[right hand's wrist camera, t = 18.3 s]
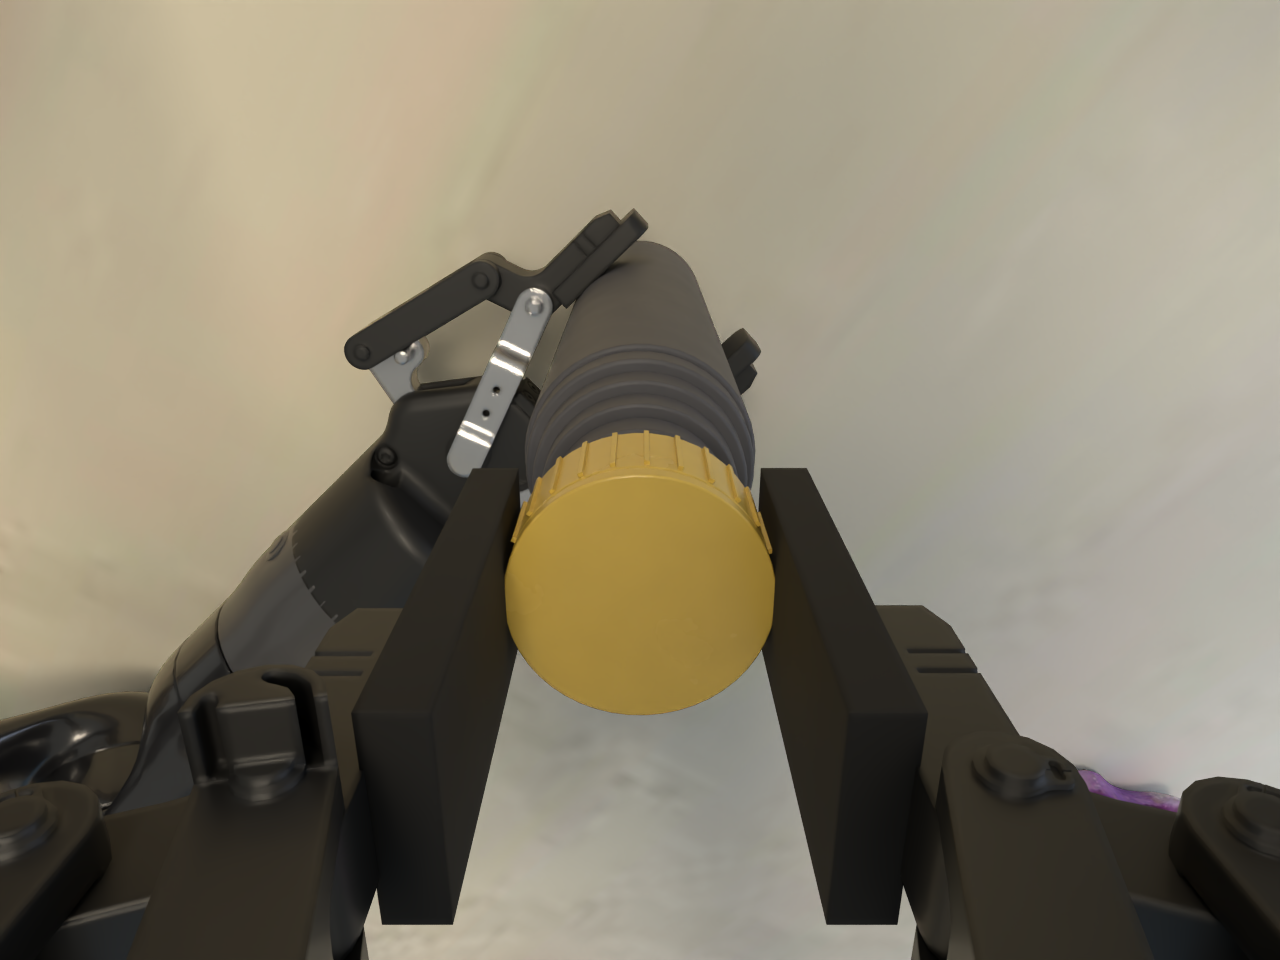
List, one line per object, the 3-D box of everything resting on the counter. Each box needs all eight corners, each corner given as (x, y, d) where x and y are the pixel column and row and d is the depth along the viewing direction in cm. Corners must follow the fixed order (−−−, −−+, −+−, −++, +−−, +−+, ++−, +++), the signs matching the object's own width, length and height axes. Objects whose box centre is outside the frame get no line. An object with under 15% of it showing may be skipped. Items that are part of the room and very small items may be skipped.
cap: (583, 684, 16) (576, 754, 14) (471, 489, 14) (447, 539, 13) (799, 599, 15) (821, 661, 13) (704, 386, 14) (713, 424, 12)
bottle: (592, 228, 35) (505, 402, 12) (713, 255, 35) (841, 470, 13) (569, 348, 36) (459, 689, 14) (685, 372, 37) (755, 742, 14)
